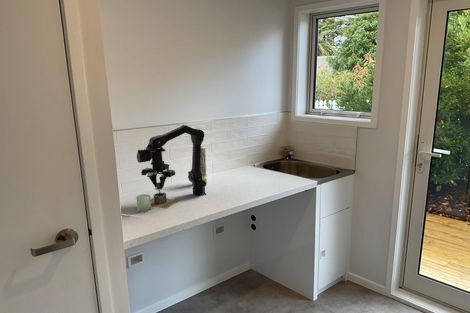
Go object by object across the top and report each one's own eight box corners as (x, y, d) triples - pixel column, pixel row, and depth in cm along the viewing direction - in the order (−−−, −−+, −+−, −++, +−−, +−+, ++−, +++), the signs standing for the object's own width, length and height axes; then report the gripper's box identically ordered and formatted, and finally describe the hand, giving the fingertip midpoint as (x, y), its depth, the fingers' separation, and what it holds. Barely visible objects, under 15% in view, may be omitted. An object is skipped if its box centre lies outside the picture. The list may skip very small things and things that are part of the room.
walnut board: (180, 201, 203) (180, 200, 203) (167, 209, 191) (167, 208, 191) (154, 198, 210) (154, 197, 210) (139, 206, 198) (139, 204, 198)
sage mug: (153, 209, 192) (152, 195, 191) (143, 215, 184) (142, 200, 183) (143, 208, 195) (141, 193, 193) (132, 213, 187) (131, 198, 186)
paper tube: (196, 183, 240) (194, 146, 235) (206, 182, 241) (205, 145, 235) (196, 185, 233) (194, 148, 228) (206, 185, 234) (205, 147, 229)
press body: (170, 200, 204) (169, 192, 203) (162, 205, 196) (161, 197, 195) (160, 199, 206) (159, 191, 205) (151, 203, 199) (151, 195, 198)
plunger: (165, 194, 201) (164, 182, 199) (160, 196, 197) (159, 184, 195) (158, 193, 202) (157, 181, 201) (154, 195, 198) (153, 183, 197)
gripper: (179, 157, 199) (181, 184, 202) (151, 156, 206) (153, 182, 209) (168, 162, 189) (170, 190, 192) (139, 160, 196) (141, 187, 199)
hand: (159, 187), depth 199 cm, fingers open, 4 cm apart
